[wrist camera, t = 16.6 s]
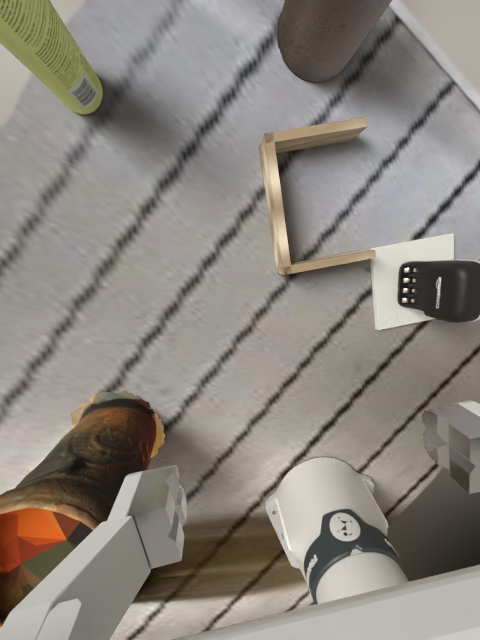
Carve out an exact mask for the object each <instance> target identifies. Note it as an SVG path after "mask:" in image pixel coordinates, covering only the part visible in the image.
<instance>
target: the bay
mask: <svg viewBox="0 0 480 640" xmlns="http://www.w3.org/2000/svg"><path fill="white" fill-rule="evenodd" d="M366 127H367V117H362V118H356V119H350V120H344V121H338V122H332V123H326V124H320V125H314V126H308V127H302V128H296V129H290V130H284V131H278V132H272V133H266V134H264V136H263V139H262V141H261V144H260V146H259V150H260V157H261V164H262V171H263V178H264V185H265V191H266V198H267V205H268V212H269V219H270V226H271V232H272V239H273V246H274V253H275V260H276V267H277V273H278V274H282V275H287V274H292V273H298V272H303V271H308V270H313V269H319V268H324V267H329V266H335V265H340V264H345V263H350V262H356V261H361V260H366V259H372V258H376V252H375V250H361V251H354V252H349V253H344V254H338V255H333V256H328V257H322V258H317V259H312V260H306V261H301V262H296V263H291V262H290V254H289V247H288V239H287V232H286V224H285V217H284V209H283V202H282V194H281V187H280V180H279V172H278V165H277V157H276V153H281V152H287V151H293V150H299V149H305V148H311V147H317V146H323V145H329V144H334V143H340V142H346V141H351V140H352V139H354V138H355V137H356V136H357V135H358V134H359V133H361V132H362V131H363V130H364V129H365V128H366Z"/></svg>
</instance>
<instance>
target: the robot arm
mask: <svg viewBox="0 0 480 640" xmlns="http://www.w3.org/2000/svg"><path fill="white" fill-rule="evenodd" d="M422 423H423V424H424V425H425V426H426V427H427V428H426V429H425V431H424V433H423V444H424V446H425V449H426V451H427V453H428V454H429V456H430V457H431V458H432V459H433V460H434V461H435V462H436V463H437V464H438V465H440V466H442V467H445V468H447V469H449V473H450V476H451V477H452V478H453V479H454V480H455V481H456V482H457V483H459V485H460V486H462V487H463V488H464V489H465V490H466V491H467V492H468V493H469V494H471V493H476V492H480V404H479V403H477V402H475V401H470V400H467V401H463V402H459V403H455V404H453V405H448V406H444V407H439V408H435V409H430V410H426V411H424V412H423V414H422ZM179 480H180V473H179V469H178V466H177V465H171V466H165V467H160V468H155V469H150V470H145V471H140V472H135V473H131V474H128V475H127V476H126V477H125V479H124V481H123V484H122V486H121V489H120V491H119V493H118V496H117V498H116V501H115V503H114V505H113V508H112V510H111V513H110V515H109V517H108V520H107V521H105V522H102V523H100V524H99V525H98V526H97V527H96V528H95V529H94V530H93V531H92V532H91V533H90V534H89V535H88V536H87V537H86V538H85V539H84V540H83V541H82V542H81V543H80V544H79V545H78V546H77V547H76V548H75V549H74V550H73V551H72V552H71V553H70V554H69V555H68V556H67V557H66V558H65V559H64V560H63V561H62V562H61V563H60V564H59V565H58V566H57V567H56V568H55V569H54V570H53V571H52V572H51V573H50V574H49V575H48V576H47V577H46V578H44V579H43V580H42V581H41V582H40V583H39V584H38V585H37V586H36V587H35V588H34V589H33V590H32V591H31V592H30V593H29V594H28V595H27V596H26V597H25V598H24V599H23V600H22V601H21V602H20V603H19V604H18V605H17V606H16V607H15V608H14V609H13V610H12V611H11V612H10V613H9V615H8V617H7V619H6V620H5V622H4V624H3V625H2V627H1V629H0V640H109V639H110V638H111V636H112V634H113V633H114V631H115V629H116V628H117V626H118V624H119V623H120V621H121V619H122V618H123V616H124V614H125V613H126V611H127V609H128V608H129V606H130V604H131V603H132V601H133V600H134V598H135V596H136V595H137V593H138V591H139V590H140V588H141V586H142V585H143V583H144V581H145V580H146V578H147V576H148V575H149V573H150V571H151V570H150V569H152V568H156V567H159V566H163V565H167V564H171V563H174V562H178V561H181V560H182V551H183V543H184V534H183V530H182V527H183V525H184V524H185V522H186V516H187V502H186V495H185V491H184V487H183V486H182V485H180V484H179ZM373 490H374V484H373V482H372V480H371V478H370V477H368V476H366V475H363V474H359V473H357V472H356V471H355V470H354V469H352V468H351V467H350V466H349V465H348V464H347V463H345V462H343V461H341V460H338V459H335V458H328V457H321V458H314V459H310V460H307V461H305V462H303V463H301V464H299V465H297V466H296V467H294V468H293V469H292V470H291V471H289V472H288V474H287V475H286V476H285V477H284V478H283V480H282V482H281V484H280V485H279V487H278V489H277V490H276V492H275V493H273V494H272V495H271V496H270V497H269V498H268V499H267V500H266V501H265V504H264V505H265V509H266V511H267V514H268V516H269V518H270V520H271V522H272V525H273V527H274V529H275V531H276V533H277V535H278V538H279V540H280V542H281V544H282V546H283V549H284V551H285V553H286V555H287V557H288V559H289V562H290V564H291V565H292V566H293V567H295V568H300V570H301V572H302V574H303V576H304V578H305V580H306V582H307V585H308V588H309V591H310V594H311V596H312V598H313V601H314V603H315V605H312V606H308V607H304V608H300V609H296V610H292V611H287V612H283V613H279V614H275V615H271V616H267V617H263V618H259V619H255V620H251V621H246V622H242V623H238V624H234V625H230V626H226V627H222V628H218V629H214V630H210V631H205V632H201V633H197V634H193V635H189V636H185V637H181V638H177V639H173V640H480V565H476V566H472V567H468V568H464V569H460V570H456V571H452V572H448V573H444V574H440V575H436V576H431V577H427V578H423V579H419V580H415V581H411V582H409V581H408V579H407V578H406V576H405V570H404V567H403V565H402V563H401V561H400V559H399V556H398V554H397V552H396V551H395V549H394V547H393V546H392V544H391V543H390V542H389V541H388V539H387V533H388V530H387V528H388V527H389V526H388V523H387V520H386V519H385V517H384V515H383V513H382V512H381V510H380V508H379V506H378V505H377V503H376V501H375V499H374V498H373Z"/></svg>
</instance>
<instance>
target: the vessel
mask: <svg viewBox="0 0 480 640" xmlns="http://www.w3.org/2000/svg"><path fill="white" fill-rule="evenodd" d="M152 410H153V409H149V403H148V402H145V401H144V400H142V399H141V398H140V397H139V396H136V397H134V395H133V394H130V393H127V391H123V392H120V393H110V392H100V393H97V394H96V395H95V396H93V397H90V403H82V405H81V408H80V409H78V410H76V411H75V412H73V413H72V414H71V415H72V428H73V429H72V430H71V431H70V432H69V433H67V434H66V435H65V436H64V437H63V438H62V439H61V440H60V442H59V443H58V444H57V445H56V447H55V448H54V449H53V450H52V451H51V452H50V453H49V454H48V455H47V457H46V458H45V459H44V460H43V461H42V462H41V463H40V464H39V465H38V466H37V467H36V468H35V469H34V470H33V471H31V472H30V473H29V474H28V475H27V476H26V477H25V478H24V479H23V480H22V481H21V482H20V483H19V484H18V485H17V486H16V488H15V489H13V490H9V491H7V492H5V493H3V494H1V495H0V629H1V627H2V625H3V624H4V622H5V620H6V619H7V617H8V615H9V613H10V612H11V611H12V610H13V609H14V608H15V607H16V606H17V605H18V604H19V603H20V602H21V601H22V600H23V599H24V598H25V597H26V596H27V595H28V594H29V593H30V592H31V591H32V590H33V589H34V588H35V587H36V586H37V585H38V584H39V583H40V582H41V581H42V580H43V579H44V578H46V577H47V576H48V575H49V574H50V573H51V572H52V571H53V570H54V569H55V568H56V567H57V566H58V565H59V564H60V563H61V562H62V561H63V560H64V559H65V558H66V557H67V556H68V555H69V554H70V553H71V552H72V551H73V550H74V549H75V548H76V547H77V546H78V545H79V544H80V543H81V542H82V541H83V540H84V539H85V538H86V537H87V536H88V535H89V534H90V533H91V532H92V531H93V530H94V529H95V528H96V527H97V526H98V525H99V524H100V523H102V522H105V521H107V520H108V517H109V515H110V513H111V510H112V508H113V505H114V503H115V501H116V498H117V496H118V493H119V491H120V489H121V486H122V484H123V481H124V479H125V477H126V476H127V475H128V474H131V473H135V472H140V471H145V470H147V468H148V466H149V462H150V458H152V457H154V456H155V455H157V454H158V448H159V447H161V446H162V445H163V443H164V438H165V436H166V435H165V434H164V432H163V431H164V426H163V424H162V421H161V419H159V418H158V416H157V414H156V413H154V412H152Z"/></svg>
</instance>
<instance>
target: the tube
mask: <svg viewBox="0 0 480 640" xmlns="http://www.w3.org/2000/svg"><path fill="white" fill-rule="evenodd" d="M0 43H1V44H2V45H3V46H4V47H5V48H6V49H7V50H9V51H10V52H11V53H12V54H13V55H14V56H15V57H16V58H17V59H18V60H19V61H20V62H21V63H22V64H23V65H24V66H26V67H27V68H28V69H29V70H30V71H31V72H32V73H33V74H34V75H35V76H36V77H37V78H38V79H39V80H40V81H41V82H42V83H43V84H44V85H45V86H46V87H47V88H48V89H49V90H50V91H51V92H52V93H53V94H54V95H55V96H57V97H58V98H59V99H60V100H61V101H62V102H63V103H64V104H65V105H66V106H67V107H68V108H69V109H70V110H72V111H74V112H76V113H78V114H90V113H92V112H94V111H95V110H96V109H97V108H98V107H99V106H100V104H101V101H102V96H103V90H102V86H101V83H100V81H99V79H98V77H97V75H96V74H95V72H94V71H93V69H92V67H91V66H90V64H89V63H88V61H87V59H86V58H85V56H84V55H83V53H82V52H81V50H80V48H79V47H78V45H77V44H76V42H75V40H74V39H73V37H72V36H71V34H70V32H69V31H68V29H67V28H66V26H65V24H64V23H63V21H62V20H61V18H60V17H59V15H58V13H57V11H56V10H55V8H54V7H53V5H52V3H51V2H50V0H0Z"/></svg>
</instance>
